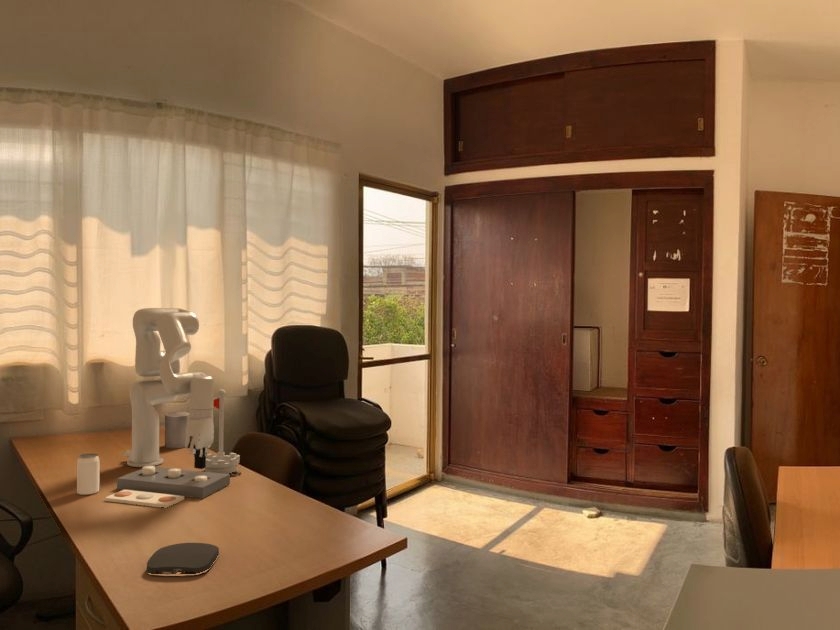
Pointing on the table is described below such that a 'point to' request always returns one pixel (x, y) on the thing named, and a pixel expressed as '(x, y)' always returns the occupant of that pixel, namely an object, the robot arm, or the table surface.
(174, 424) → the pillar candle
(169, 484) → the button panel
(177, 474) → the middle button
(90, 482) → the can
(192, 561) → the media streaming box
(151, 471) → the left button
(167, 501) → the pattern card
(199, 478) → the right button
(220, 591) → the table surface
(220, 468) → the flag stand
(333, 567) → the table surface
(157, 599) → the table surface
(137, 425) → the robot arm
